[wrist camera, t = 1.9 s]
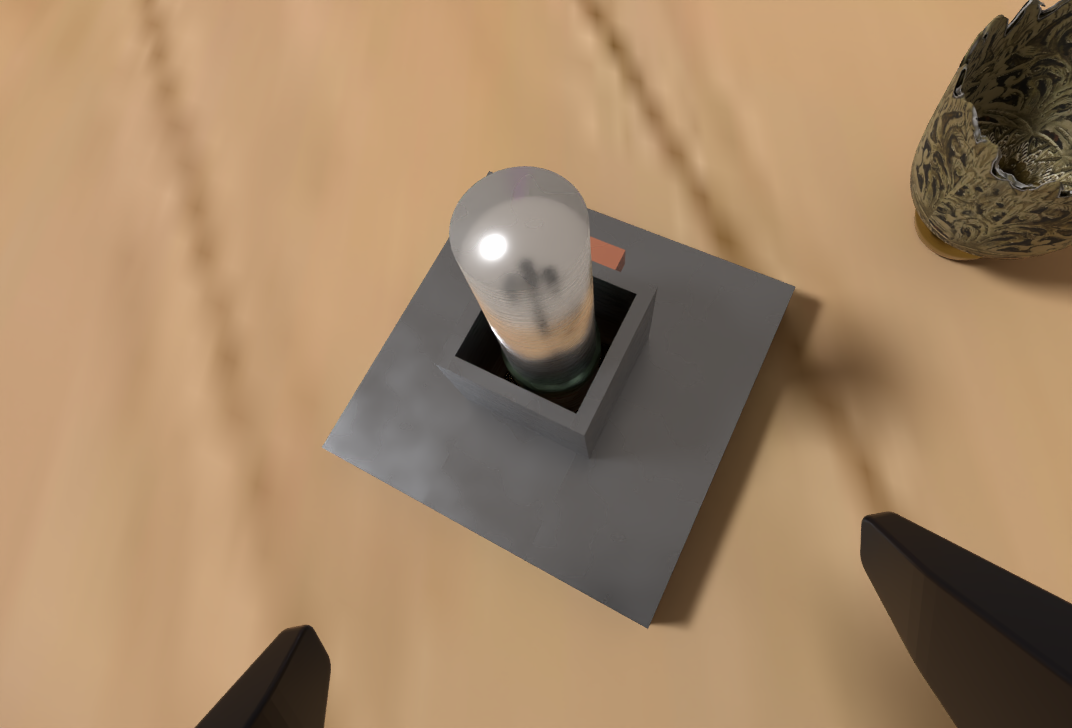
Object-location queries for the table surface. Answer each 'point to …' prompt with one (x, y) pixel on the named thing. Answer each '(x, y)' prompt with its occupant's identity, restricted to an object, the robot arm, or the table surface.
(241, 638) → the table surface
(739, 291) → the stand
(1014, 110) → the cup
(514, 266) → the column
